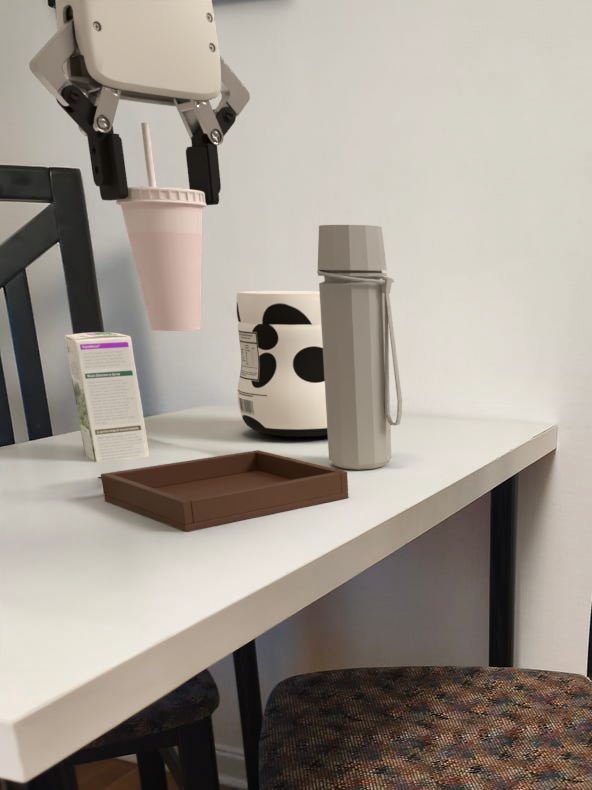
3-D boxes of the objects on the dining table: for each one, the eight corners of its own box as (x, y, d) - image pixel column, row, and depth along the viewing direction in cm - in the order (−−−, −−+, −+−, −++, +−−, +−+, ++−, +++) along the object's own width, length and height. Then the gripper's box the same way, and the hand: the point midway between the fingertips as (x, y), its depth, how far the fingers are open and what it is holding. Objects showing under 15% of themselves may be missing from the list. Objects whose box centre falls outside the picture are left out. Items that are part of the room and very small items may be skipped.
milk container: (386, 425, 128) (381, 291, 121) (342, 447, 113) (334, 294, 106) (275, 420, 132) (264, 290, 125) (217, 440, 116) (202, 293, 109)
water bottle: (314, 468, 101) (298, 224, 91) (352, 456, 107) (341, 228, 98) (384, 476, 97) (375, 223, 88) (419, 463, 104) (414, 227, 94)
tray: (185, 531, 76) (182, 502, 75) (104, 500, 86) (100, 473, 85) (348, 497, 88) (347, 471, 87) (260, 473, 98) (258, 449, 97)
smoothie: (152, 326, 72) (127, 129, 67) (229, 327, 72) (211, 130, 67) (118, 331, 66) (88, 116, 61) (202, 332, 66) (180, 116, 61)
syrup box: (153, 474, 97) (134, 334, 92) (97, 480, 94) (73, 336, 89) (139, 465, 102) (120, 330, 96) (84, 470, 98) (61, 332, 93)
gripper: (216, -54, 67) (239, 210, 74) (-34, -121, 56) (20, 197, 63) (270, -79, 62) (289, 206, 69) (8, -158, 51) (62, 192, 58)
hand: (161, 199), depth 66 cm, fingers closed on smoothie, 6 cm apart
